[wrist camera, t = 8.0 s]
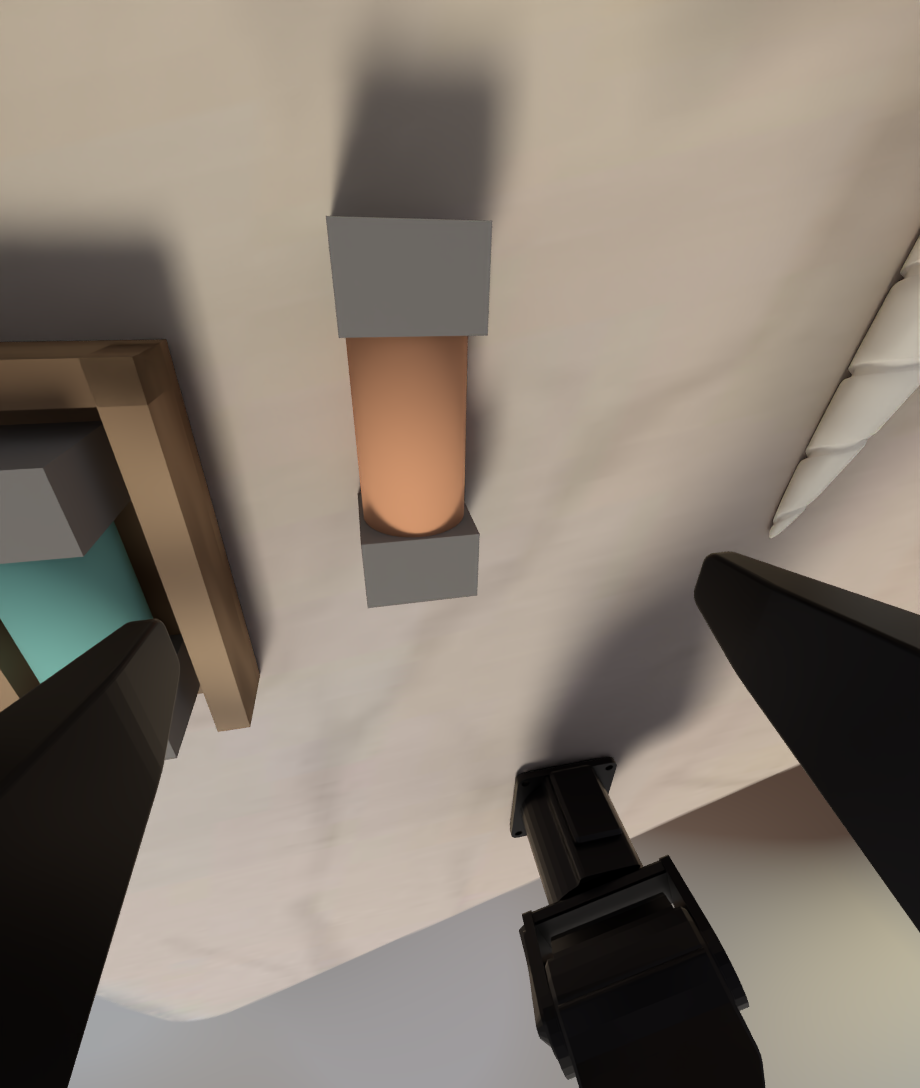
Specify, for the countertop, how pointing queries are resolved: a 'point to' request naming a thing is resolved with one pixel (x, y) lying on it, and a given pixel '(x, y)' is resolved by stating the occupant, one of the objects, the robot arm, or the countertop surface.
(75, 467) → the teal capped cylinder
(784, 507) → the unicorn horn
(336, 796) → the countertop surface
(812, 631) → the robot arm
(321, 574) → the countertop surface
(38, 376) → the wooden tray
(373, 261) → the orange capped cylinder
